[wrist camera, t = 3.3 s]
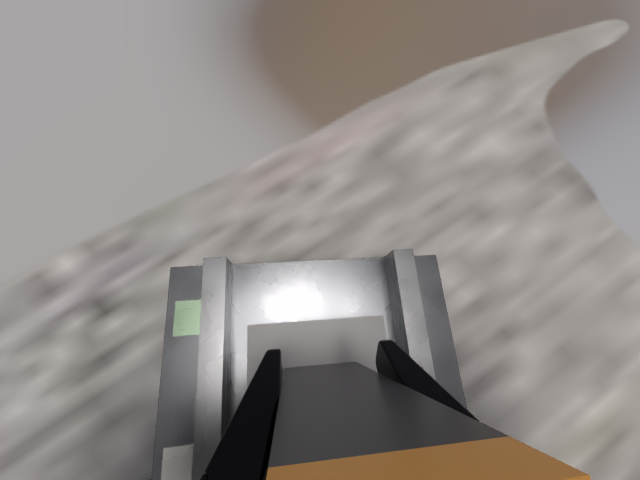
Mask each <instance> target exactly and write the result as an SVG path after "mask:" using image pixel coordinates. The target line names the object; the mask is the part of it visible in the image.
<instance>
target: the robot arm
mask: <svg viewBox="0 0 640 480" xmlns="http://www.w3.org/2000/svg"><path fill="white" fill-rule="evenodd" d="M376 368H377V372H378V373H379V374H381V375H383V376H386V377H388V378H390V379H392V380H394V381H396V382H398V383H400V384H403V385H405V386H407V387H409V388H411V389H413V390H415V391H417V392H419V393H421V394H423V395H425V396H427V397H429V398H431V399H433V400H435V401H437V402H440V403H442V404H444V405H446V406H448V407H450V408H452V409H454V410H456V411H458V412H460V413H462V414H464V415H466V416H468V417H470V418H472V419H475V420H477V419H476V418H475V417H474V416H473V415H472V414H471V413H470V412H469V411H468V410H467V409H466V408H465V407H463V406H462V405H461V404H460V403H459V402H458V401H457V400H456V399H455V398H454V397H453V396H452V395H451V394H450V393H448V392H447V391H446V390H445V389H444V388H443V387H442V386H441V385H440V384H439V383H438V382H437V381H436V380H435V379H433V378H432V377H431V376H430V375H429V374H428V373H427V372H426V371H425V370H424V369H423V368H422V367H421V366H420V365H418V364H417V363H416V362H415V361H414V360H413V359H412V358H411V357H410V356H409V355H408V354H407V353H406V352H405V351H403V350H402V349H401V348H400V347H399V346H398V345H397V344H396V343H395V342H394V341H392V340H380V341H379V342H378V346H377V352H376ZM281 388H282V357H281V350H280V349H269V350H267V351H266V353H265V355H264V357H263V359H262V361H261V363H260V364H259V366H258V368H257V370H256V372H255V374H254V376H253V378H252V380H251V382H250V384H249V386H248V388H247V390H246V392H245V394H244V396H243V397H242V399H241V401H240V403H239V405H238V407H237V409H236V411H235V413H234V415H233V417H232V419H231V421H230V423H229V425H228V427H227V428H226V430H225V432H224V434H223V436H222V438H221V440H220V442H219V444H218V446H217V448H216V450H215V452H214V454H213V456H212V458H211V459H210V461H209V463H208V465H207V467H206V469H205V474H203V475H202V477H201V479H200V480H266V477H267V471H268V465H269V459H270V453H271V446H272V440H273V434H274V428H275V422H276V416H277V410H278V404H279V398H280V393H281ZM477 421H478V420H477ZM479 422H480V421H479Z"/></svg>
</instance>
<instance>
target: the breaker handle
mask: <svg viewBox="0 0 640 480" xmlns="http://www.w3.org/2000/svg"><path fill="white" fill-rule="evenodd" d="M380 340H387V336H386V328H385V321H384V315H383V316H369V317H355V318H341V319H327V320H313V321H299V322H285V323H271V324H257V325H247V388H248V386H249V384H250V382H251V380H252V378H253V376H254V374H255V372H256V370H257V368H258V366H259V364H260V363H261V361H262V359H263V357H264V355H265V353H266V351H267V350H269V349H280V350H281V357H282V388H281V393H280V398H279V404H278V410H277V416H276V422H275V428H274V434H273V440H272V446H271V453H270V459H269V465H268V471H267V477H266V480H591V479H590V476H589V475H588V474H586V473H584V472H582V471H579V470H577V469H575V468H573V467H571V466H569V465H567V464H565V463H563V462H561V461H559V460H557V459H555V458H553V457H551V456H549V455H547V454H545V453H542V452H540V451H538V450H536V449H534V448H532V447H530V446H528V445H526V444H524V443H522V442H520V441H518V440H516V439H514V438H512V437H510V436H507V435H505V434H503V433H501V432H499V431H497V430H495V429H493V428H491V427H489V426H487V425H485V424H483V423H481V422H479V421H477V420H475V419H472V418H470V417H468V416H466V415H464V414H462V413H460V412H458V411H456V410H454V409H452V408H450V407H448V406H446V405H444V404H442V403H440V402H437V401H435V400H433V399H431V398H429V397H427V396H425V395H423V394H421V393H419V392H417V391H415V390H413V389H411V388H409V387H407V386H405V385H403V384H400V383H398V382H396V381H394V380H392V379H390V378H388V377H386V376H383V375H381V374H379V373H378V372H377V368H376V352H377V346H378V342H379V341H380Z"/></svg>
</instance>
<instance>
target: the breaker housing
mask: <svg viewBox="0 0 640 480" xmlns="http://www.w3.org/2000/svg"><path fill="white" fill-rule="evenodd" d="M383 315H384V321H385V328H386V336H387V340H392V341H394V342H395V343H396V344H397V345H398V346H399V347H400V348H401V349H402V350H403V351H405V352H406V353H407V354H408V355H409V356H410V357H411V358H412V359H413V360H414V361H415V362H416V363H417V364H418V365H420V366H421V367H422V368H423V369H424V370H425V371H426V372H427V373H428V374H429V375H430V376H431V377H432V378H433V379H435V380H436V381H437V382H438V383H439V384H440V385H441V386H442V387H443V388H444V389H445V390H446V391H447V392H448V393H450V394H451V395H452V396H453V397H454V398H455V399H456V400H457V401H458V402H459V403H460V404H461V405H462V406H463V407H465V408H466V403H465V398H464V393H463V388H462V383H461V378H460V373H459V368H458V363H457V358H456V353H455V348H454V343H453V338H452V333H451V328H450V323H449V318H448V313H447V308H446V303H445V299H444V294H443V289H442V284H441V279H440V274H439V269H438V264H437V259H436V255H426V256H414V254H413V249H404V250H393V251H391V252H390V253H389V254H388V255H386V256H385V257H382V258H361V259H339V260H317V261H296V262H274V263H252V264H232V263H231V262H230V261H229V260H228V259H227V257H218V258H204V260H203V266H187V267H171V269H170V280H169V291H168V303H167V314H166V325H165V336H164V347H163V358H162V369H161V380H160V391H159V402H158V413H157V424H156V435H155V446H154V457H153V468H152V479H151V480H200V479H201V477H202V475H203V474H205V469H206V467H207V465H208V463H209V461H210V459H211V458H212V456H213V454H214V452H215V450H216V448H217V446H218V444H219V442H220V440H221V438H222V436H223V434H224V432H225V430H226V428H227V427H228V425H229V423H230V421H231V419H232V417H233V415H234V413H235V411H236V409H237V407H238V405H239V403H240V401H241V399H242V397H243V396H244V394H245V392H246V390H247V325H257V324H271V323H285V322H299V321H313V320H327V319H341V318H355V317H369V316H383ZM466 409H467V408H466Z"/></svg>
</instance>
